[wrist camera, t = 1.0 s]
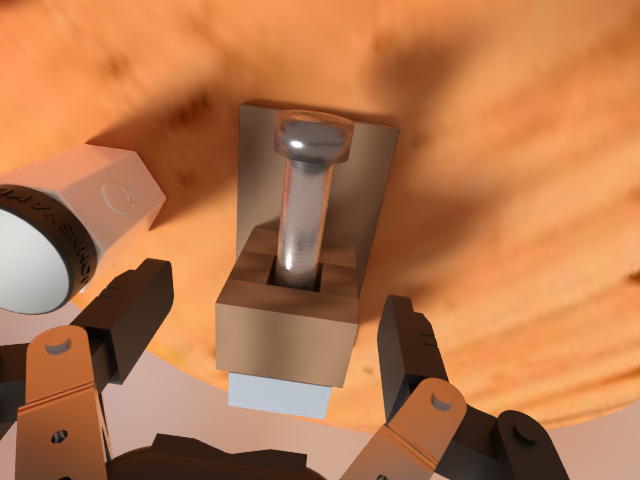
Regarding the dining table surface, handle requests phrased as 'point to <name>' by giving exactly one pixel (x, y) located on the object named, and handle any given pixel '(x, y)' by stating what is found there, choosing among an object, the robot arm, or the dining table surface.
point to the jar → (70, 223)
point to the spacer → (278, 395)
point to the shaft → (306, 188)
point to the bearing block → (333, 268)
